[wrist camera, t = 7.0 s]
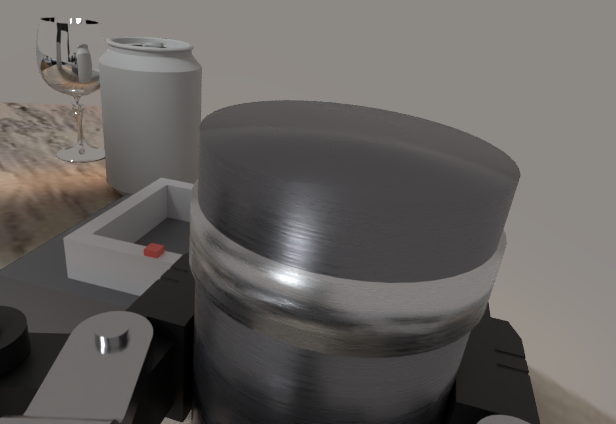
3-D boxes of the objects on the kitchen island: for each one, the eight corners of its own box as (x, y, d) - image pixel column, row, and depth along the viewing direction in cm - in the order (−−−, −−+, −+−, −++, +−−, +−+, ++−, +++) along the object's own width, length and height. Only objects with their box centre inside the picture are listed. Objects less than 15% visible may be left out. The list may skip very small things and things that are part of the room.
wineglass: (127, 153, 49) (120, 24, 44) (83, 169, 44) (70, 26, 39) (81, 141, 50) (70, 16, 45) (34, 155, 46) (15, 17, 41)
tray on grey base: (7, 346, 23) (-15, 226, 21) (129, 250, 32) (124, 158, 29) (292, 428, 21) (308, 303, 18) (339, 299, 29) (354, 203, 27)
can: (185, 169, 46) (185, 35, 41) (212, 200, 41) (215, 49, 36) (100, 176, 43) (89, 30, 38) (116, 211, 37) (105, 44, 32)
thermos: (139, 664, 10) (117, 150, 5) (230, 469, 14) (260, 86, 10) (371, 761, 9) (573, 247, 5) (395, 523, 13) (514, 131, 9)
